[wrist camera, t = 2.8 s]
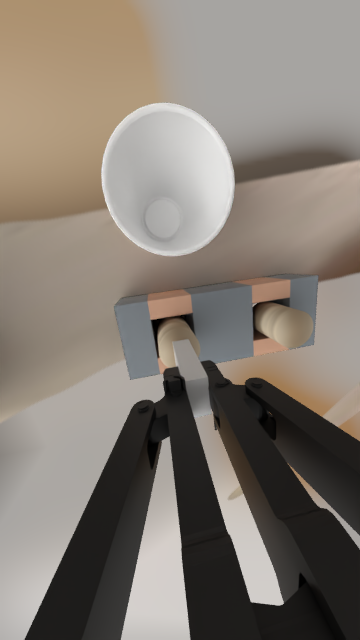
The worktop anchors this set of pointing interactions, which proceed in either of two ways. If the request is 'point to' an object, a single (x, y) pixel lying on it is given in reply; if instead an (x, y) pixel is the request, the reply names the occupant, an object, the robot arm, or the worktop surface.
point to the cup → (168, 179)
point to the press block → (211, 319)
